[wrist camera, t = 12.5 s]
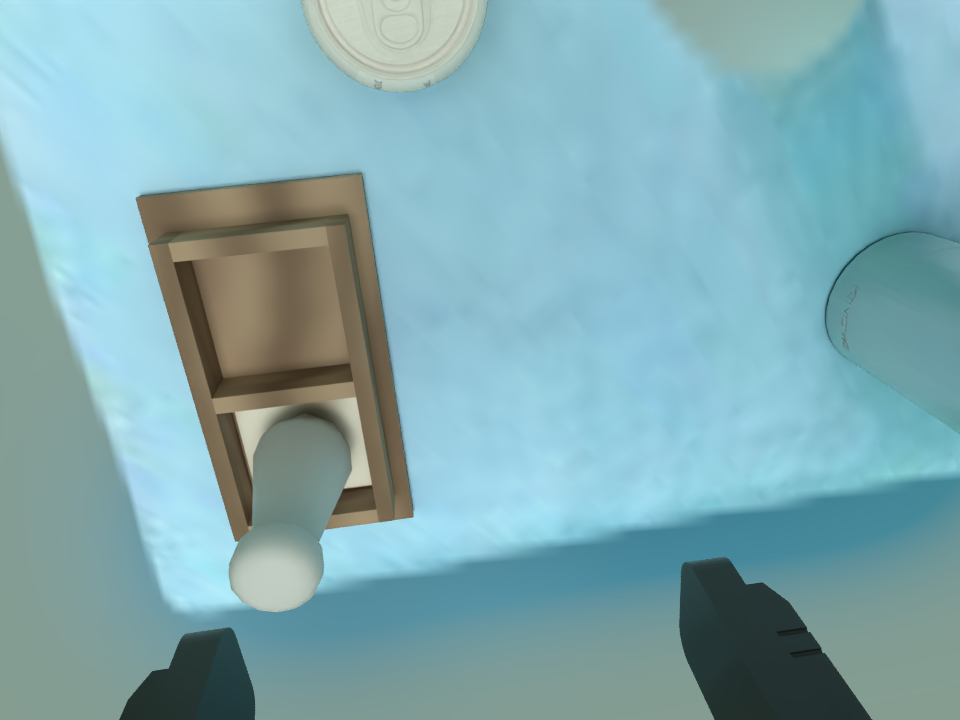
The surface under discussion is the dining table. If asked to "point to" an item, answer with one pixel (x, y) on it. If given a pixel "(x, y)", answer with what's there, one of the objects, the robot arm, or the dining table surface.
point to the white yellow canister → (396, 38)
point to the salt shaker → (290, 512)
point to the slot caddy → (282, 330)
